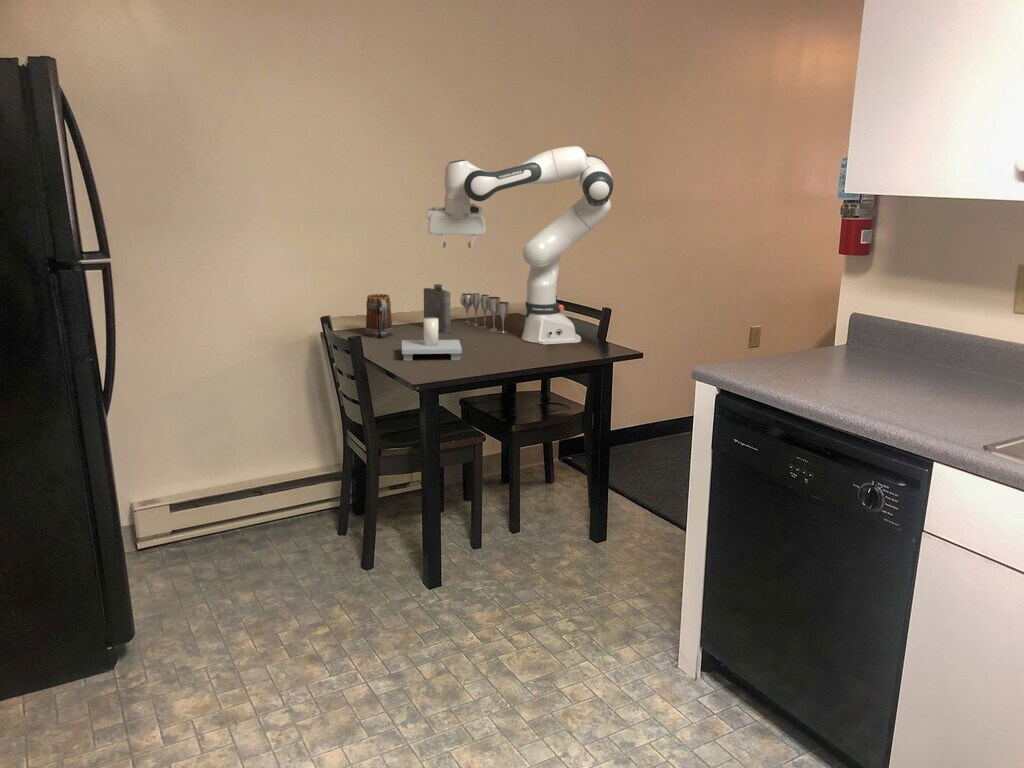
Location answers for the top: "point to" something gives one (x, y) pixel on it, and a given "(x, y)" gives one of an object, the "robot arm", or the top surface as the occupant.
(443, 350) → the shelf
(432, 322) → the white rounded cylinder
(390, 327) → the mug
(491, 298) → the goblet set
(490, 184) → the robot arm
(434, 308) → the flask
